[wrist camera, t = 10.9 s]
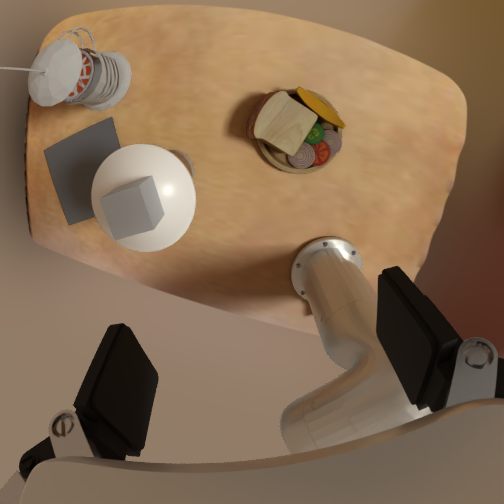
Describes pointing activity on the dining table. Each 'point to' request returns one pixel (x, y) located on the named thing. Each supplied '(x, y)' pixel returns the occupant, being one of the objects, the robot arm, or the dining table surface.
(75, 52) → the french press
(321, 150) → the toy sandwich meal
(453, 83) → the dining table surface
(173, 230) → the lid
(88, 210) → the mat
